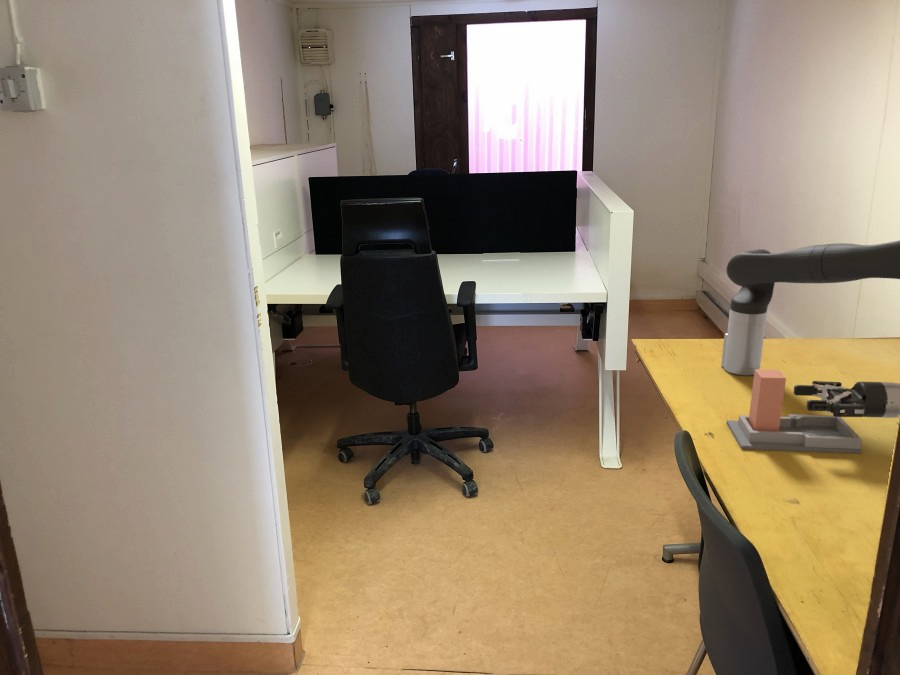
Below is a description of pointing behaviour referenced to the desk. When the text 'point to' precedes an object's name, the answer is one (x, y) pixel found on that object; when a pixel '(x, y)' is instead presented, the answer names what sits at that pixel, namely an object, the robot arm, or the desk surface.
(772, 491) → the desk surface
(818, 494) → the desk surface
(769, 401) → the block
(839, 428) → the keyhole board
